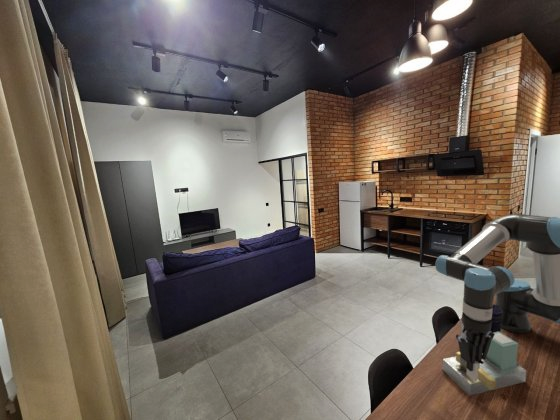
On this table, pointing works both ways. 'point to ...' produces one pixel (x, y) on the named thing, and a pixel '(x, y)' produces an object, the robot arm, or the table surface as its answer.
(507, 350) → the mint green box
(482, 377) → the hammer with yellow handle
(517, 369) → the white base platform
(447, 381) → the table surface
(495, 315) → the storage jar
